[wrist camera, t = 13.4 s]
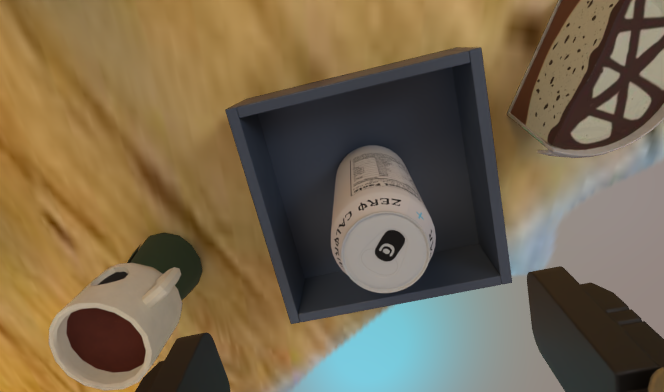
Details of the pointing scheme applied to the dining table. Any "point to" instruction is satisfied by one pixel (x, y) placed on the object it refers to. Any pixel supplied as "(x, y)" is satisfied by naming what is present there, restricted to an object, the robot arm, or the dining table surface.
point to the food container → (594, 77)
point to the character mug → (125, 315)
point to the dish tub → (403, 139)
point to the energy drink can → (379, 222)
